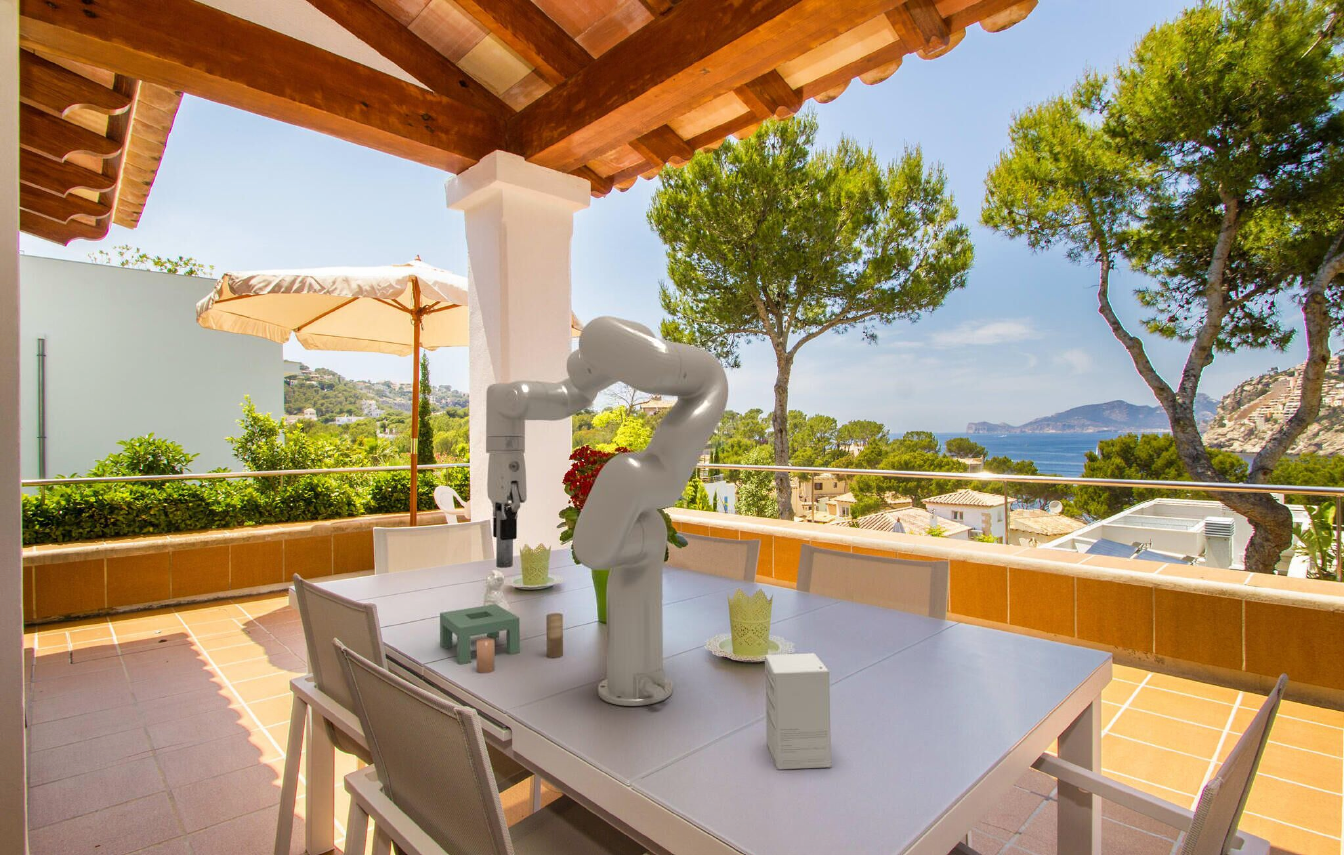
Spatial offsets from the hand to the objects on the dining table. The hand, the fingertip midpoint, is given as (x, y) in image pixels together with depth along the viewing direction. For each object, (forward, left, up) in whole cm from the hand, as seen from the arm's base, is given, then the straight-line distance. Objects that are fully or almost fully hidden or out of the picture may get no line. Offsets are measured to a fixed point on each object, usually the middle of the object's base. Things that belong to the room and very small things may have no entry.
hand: (504, 537), depth 130 cm
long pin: (0, 0, -6) cm, 6 cm away
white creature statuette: (+29, -7, -24) cm, 39 cm away
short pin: (-5, +6, -24) cm, 25 cm away
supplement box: (-63, -17, -24) cm, 69 cm away
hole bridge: (+8, +3, -24) cm, 25 cm away
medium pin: (-5, -8, -24) cm, 26 cm away
